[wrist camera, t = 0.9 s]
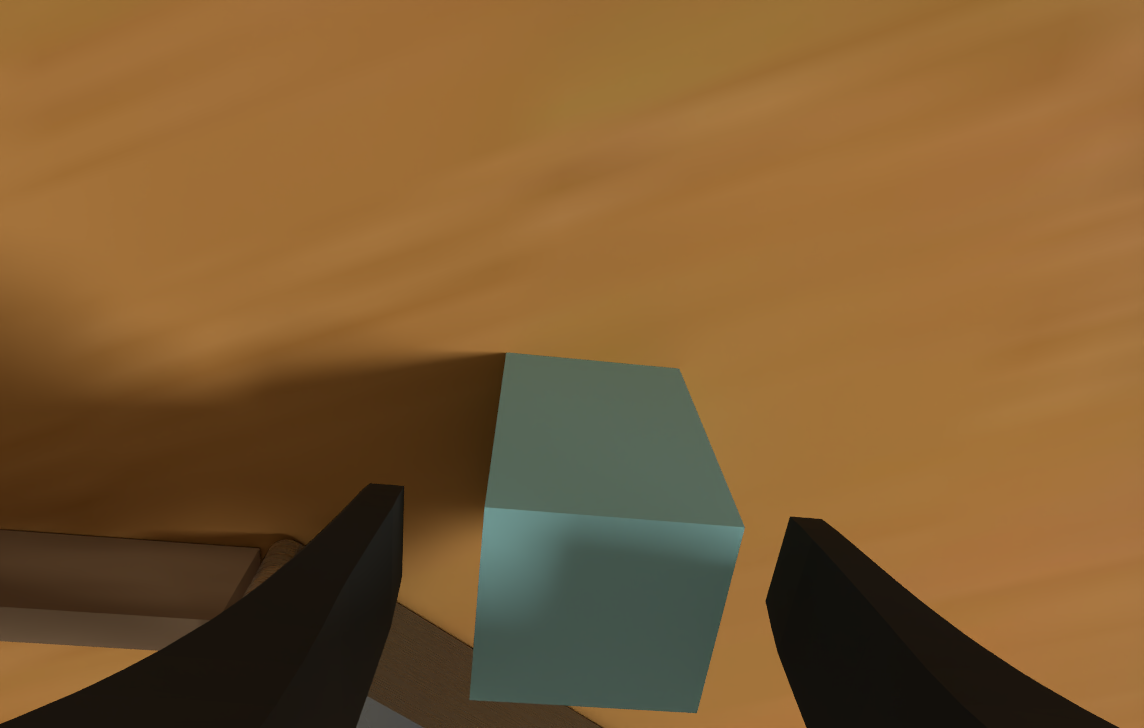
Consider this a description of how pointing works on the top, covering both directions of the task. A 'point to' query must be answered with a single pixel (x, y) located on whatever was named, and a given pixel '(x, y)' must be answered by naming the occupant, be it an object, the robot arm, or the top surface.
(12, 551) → the bay
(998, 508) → the top surface
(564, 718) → the gate
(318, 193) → the top surface
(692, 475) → the teal block
